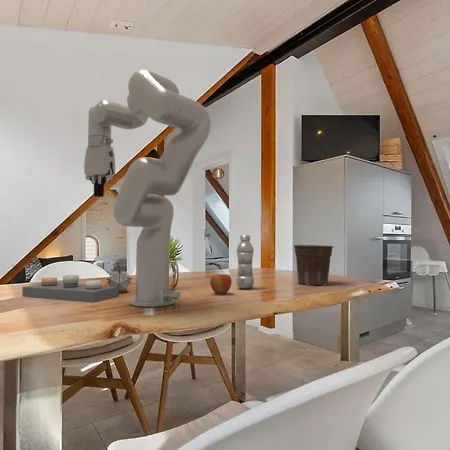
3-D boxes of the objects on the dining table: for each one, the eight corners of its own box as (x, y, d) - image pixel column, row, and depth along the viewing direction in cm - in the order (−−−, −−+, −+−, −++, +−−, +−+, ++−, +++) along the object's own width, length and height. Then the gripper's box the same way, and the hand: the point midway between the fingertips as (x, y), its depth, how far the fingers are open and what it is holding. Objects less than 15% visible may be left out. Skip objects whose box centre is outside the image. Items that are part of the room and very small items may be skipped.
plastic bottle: (256, 288, 139) (257, 235, 140) (248, 290, 133) (248, 235, 134) (242, 287, 143) (242, 235, 143) (233, 289, 137) (233, 235, 138)
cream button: (104, 295, 117) (104, 280, 117) (94, 297, 113) (94, 282, 113) (92, 294, 119) (92, 279, 119) (81, 296, 114) (82, 281, 114)
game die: (121, 303, 126) (122, 282, 121) (100, 294, 128) (100, 272, 122) (135, 288, 134) (137, 267, 128) (115, 279, 135) (116, 258, 130)
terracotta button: (60, 291, 123) (60, 278, 124) (49, 293, 119) (49, 279, 119) (49, 290, 125) (49, 277, 125) (37, 292, 121) (38, 278, 121)
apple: (207, 295, 123) (207, 271, 123) (213, 292, 130) (213, 269, 130) (228, 296, 121) (228, 271, 121) (233, 293, 128) (233, 269, 128)
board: (118, 296, 120) (118, 286, 120) (93, 302, 108) (93, 291, 108) (51, 291, 129) (52, 282, 129) (22, 296, 118) (22, 286, 118)
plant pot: (336, 282, 158) (336, 245, 158) (330, 287, 143) (330, 246, 144) (298, 280, 164) (298, 244, 165) (289, 285, 150) (289, 245, 150)
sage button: (82, 289, 120) (82, 275, 120) (71, 291, 116) (71, 277, 116) (70, 288, 122) (70, 274, 122) (59, 290, 117) (59, 276, 118)
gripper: (124, 144, 129) (123, 196, 128) (89, 147, 134) (88, 198, 133) (110, 139, 122) (109, 194, 121) (74, 142, 127) (73, 196, 126)
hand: (98, 196), depth 127 cm, fingers closed
